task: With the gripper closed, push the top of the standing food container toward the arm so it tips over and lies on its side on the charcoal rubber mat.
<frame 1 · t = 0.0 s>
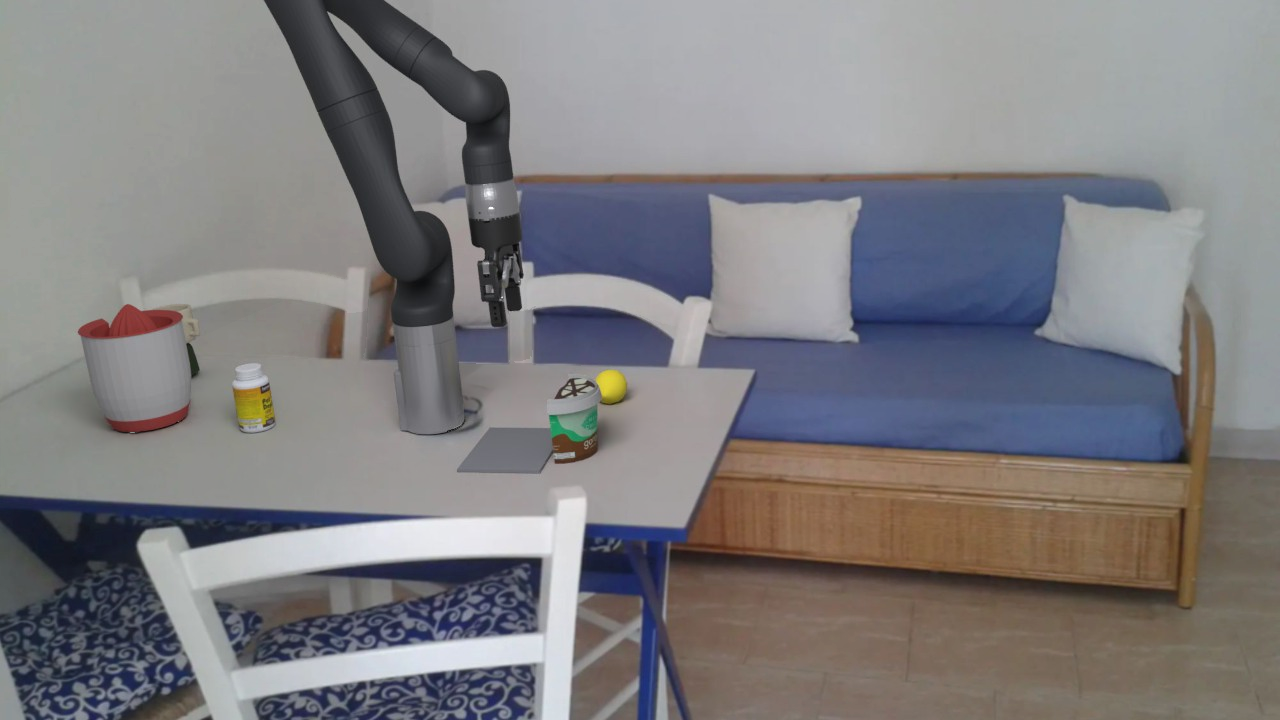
hand: (507, 318, 171), 17 cm above the table, tool pointing down, fingers open, 8 cm apart
character mug: (182, 377, 210), on the table
food container: (583, 452, 164), on the table
charcoal mat: (513, 450, 166), on the table
lemon: (611, 402, 184), on the table
citrus juicer: (149, 421, 188), on the table
supplement bottle: (258, 428, 182), on the table
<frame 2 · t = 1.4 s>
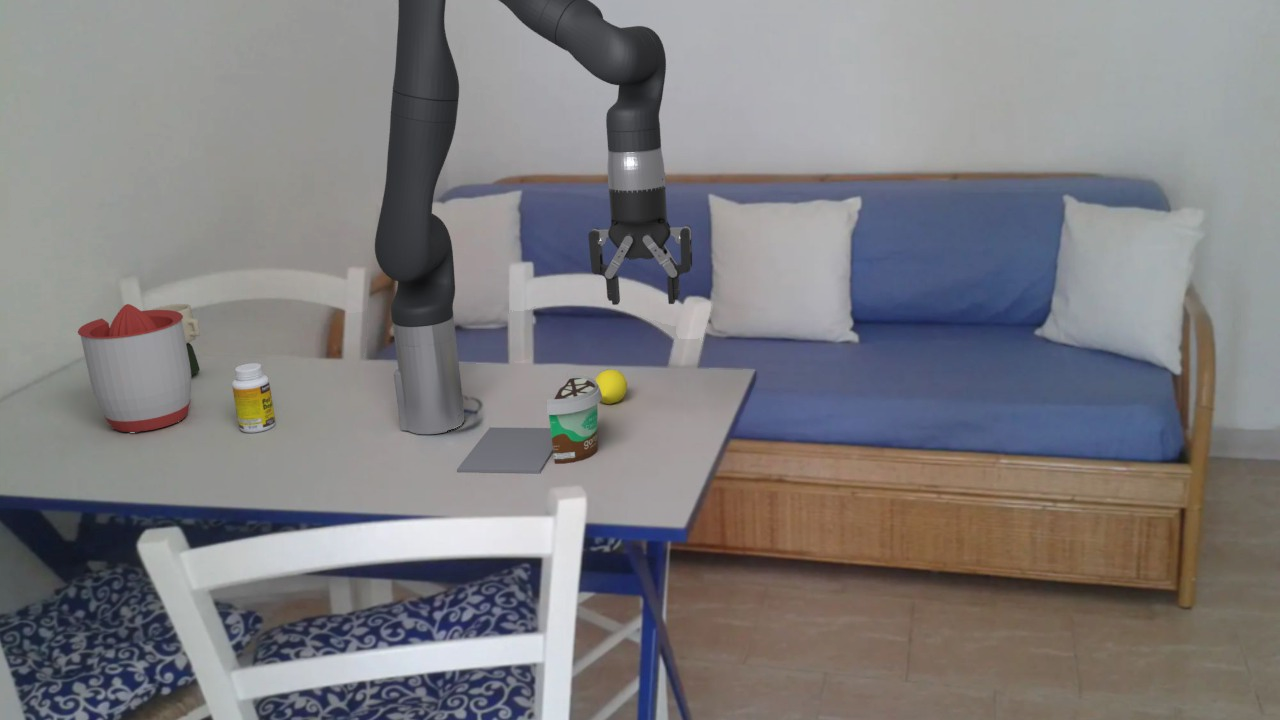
hand: (644, 302, 156), 22 cm above the table, tool pointing down, fingers open, 7 cm apart
nothing on the table moved.
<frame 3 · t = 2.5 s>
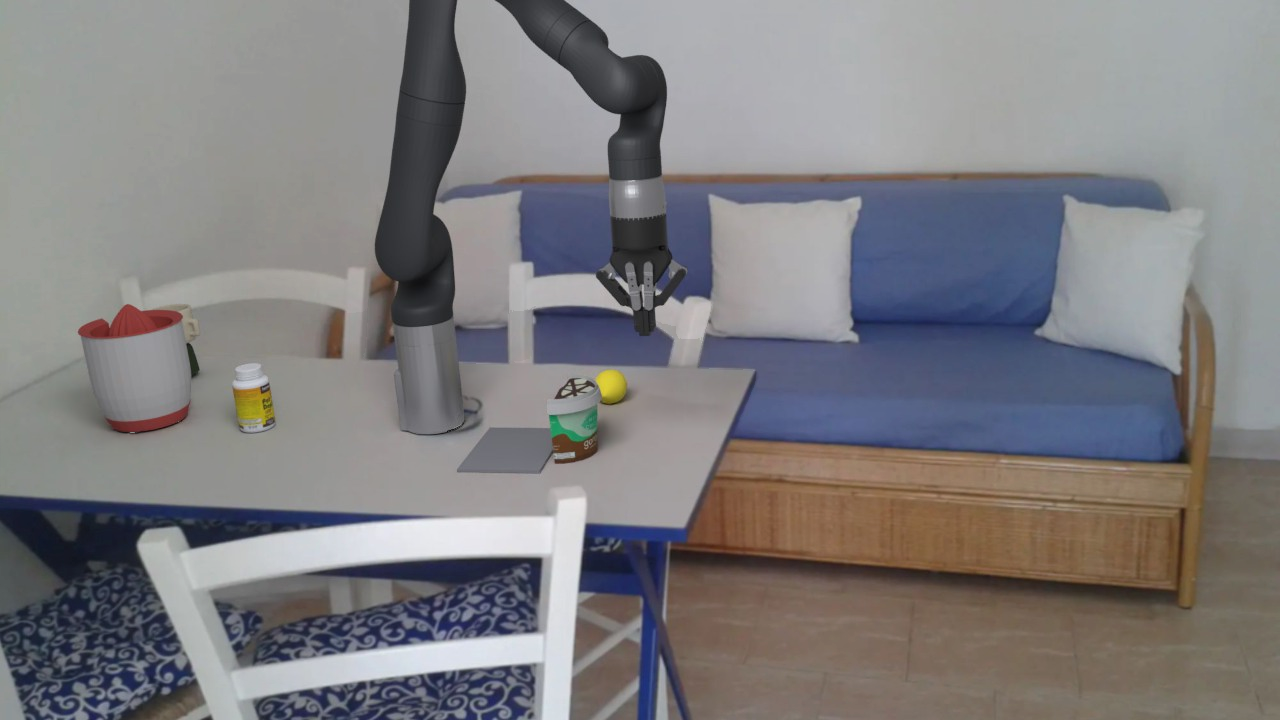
hand: (645, 334, 157), 18 cm above the table, tool pointing down, fingers closed
nothing on the table moved.
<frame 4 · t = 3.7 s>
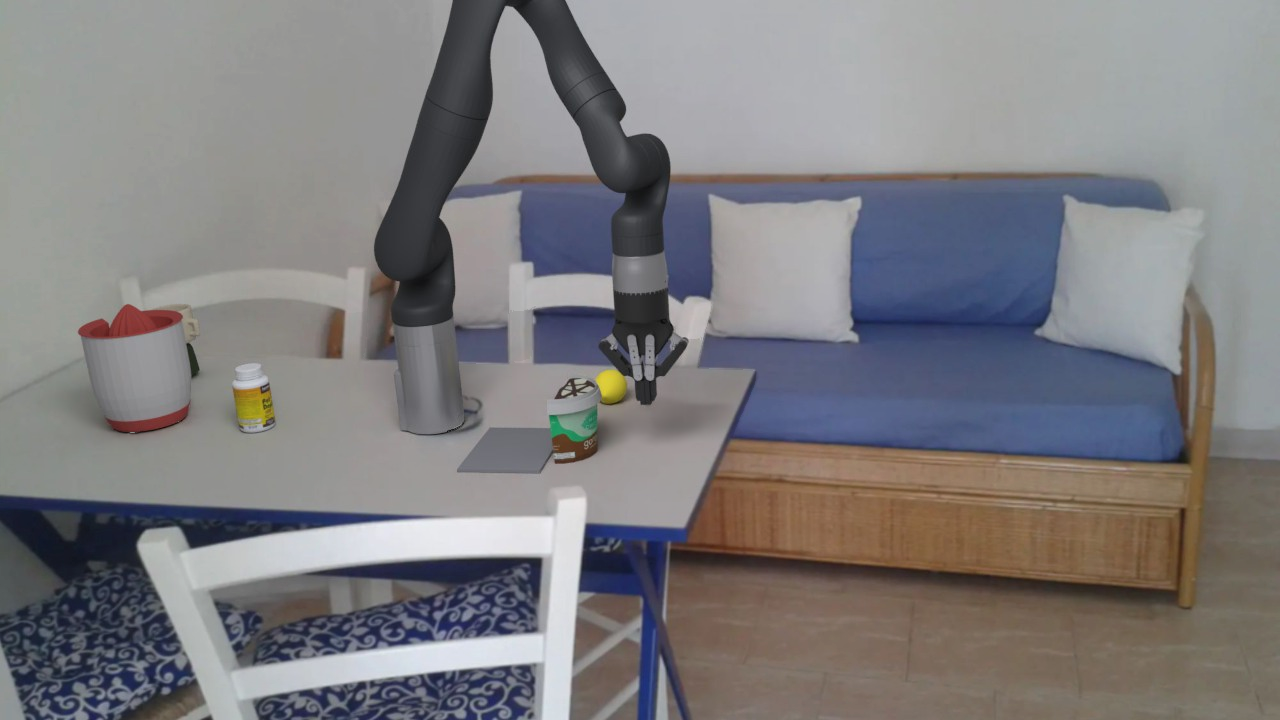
hand: (646, 403, 160), 7 cm above the table, tool pointing down, fingers closed
nothing on the table moved.
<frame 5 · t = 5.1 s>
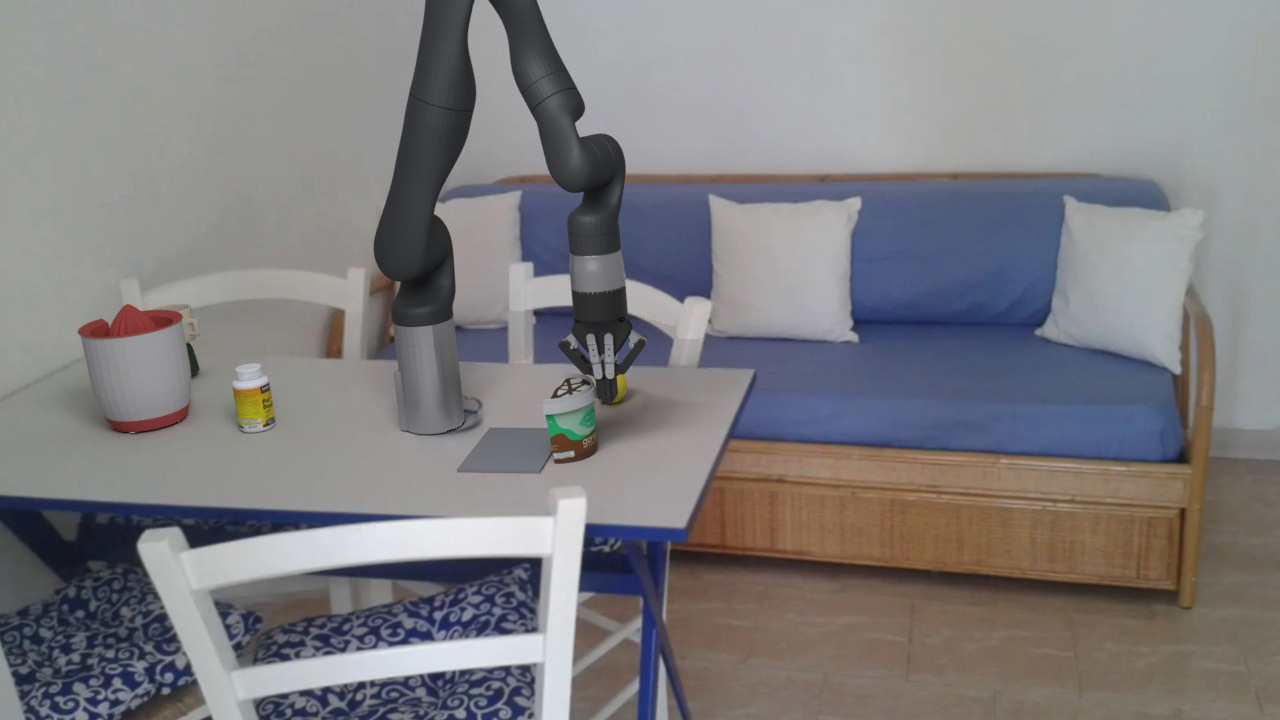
hand: (608, 401, 161), 8 cm above the table, tool pointing down, fingers closed
food container: (583, 451, 164), on the table, touching gripper
everything else where it was.
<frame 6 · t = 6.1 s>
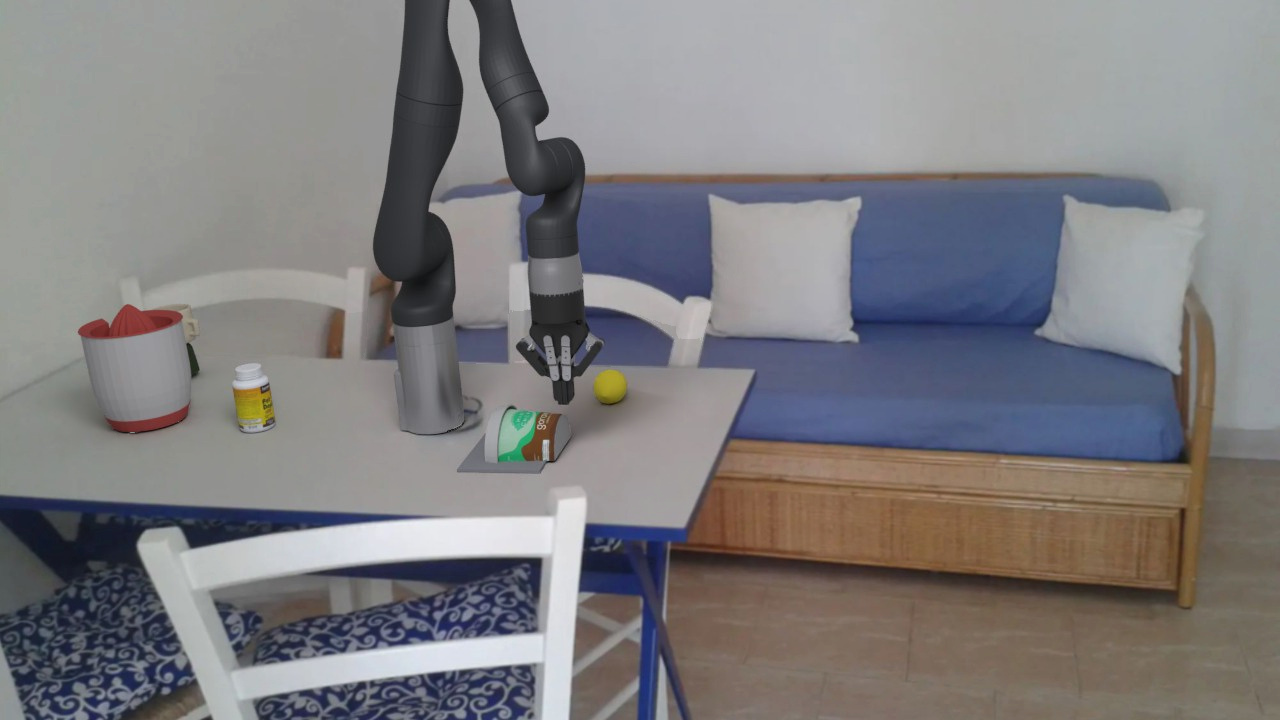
hand: (564, 402, 163), 7 cm above the table, tool pointing down, fingers closed
food container: (562, 428, 164), point 3 cm above the table, touching charcoal mat
everything else where it was.
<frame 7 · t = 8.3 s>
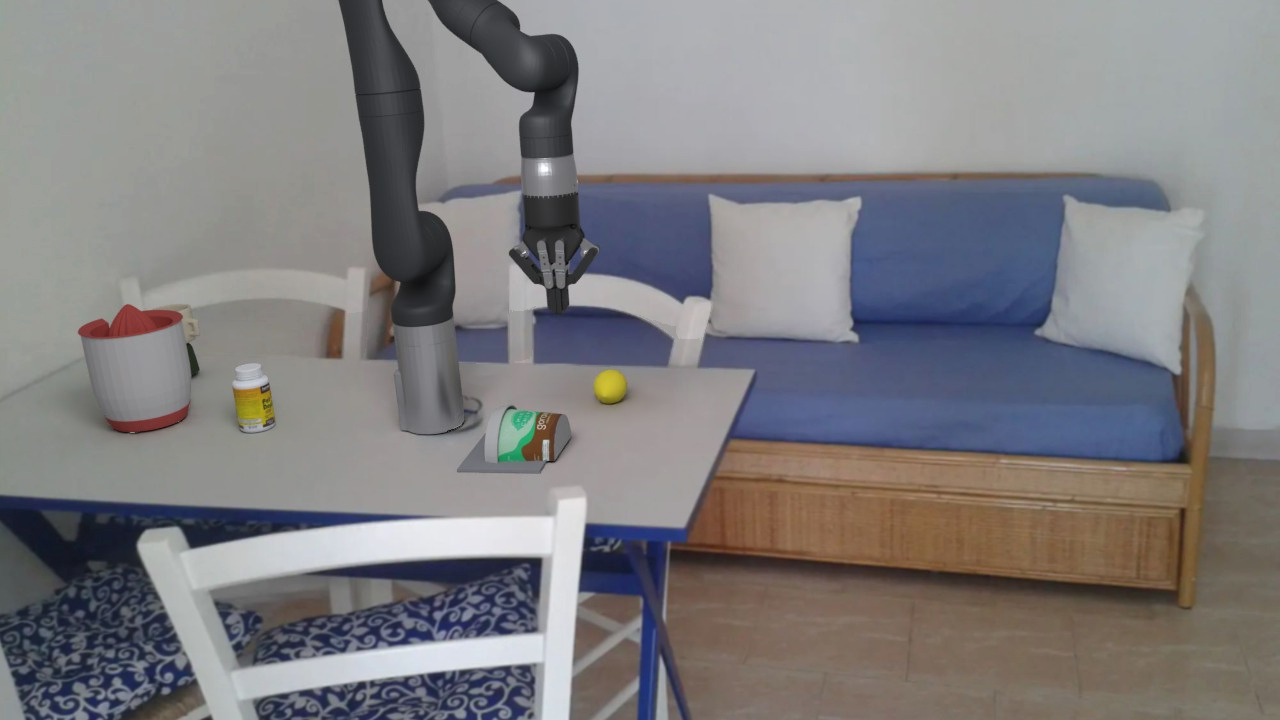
hand: (559, 312, 158), 21 cm above the table, tool pointing down, fingers closed
nothing on the table moved.
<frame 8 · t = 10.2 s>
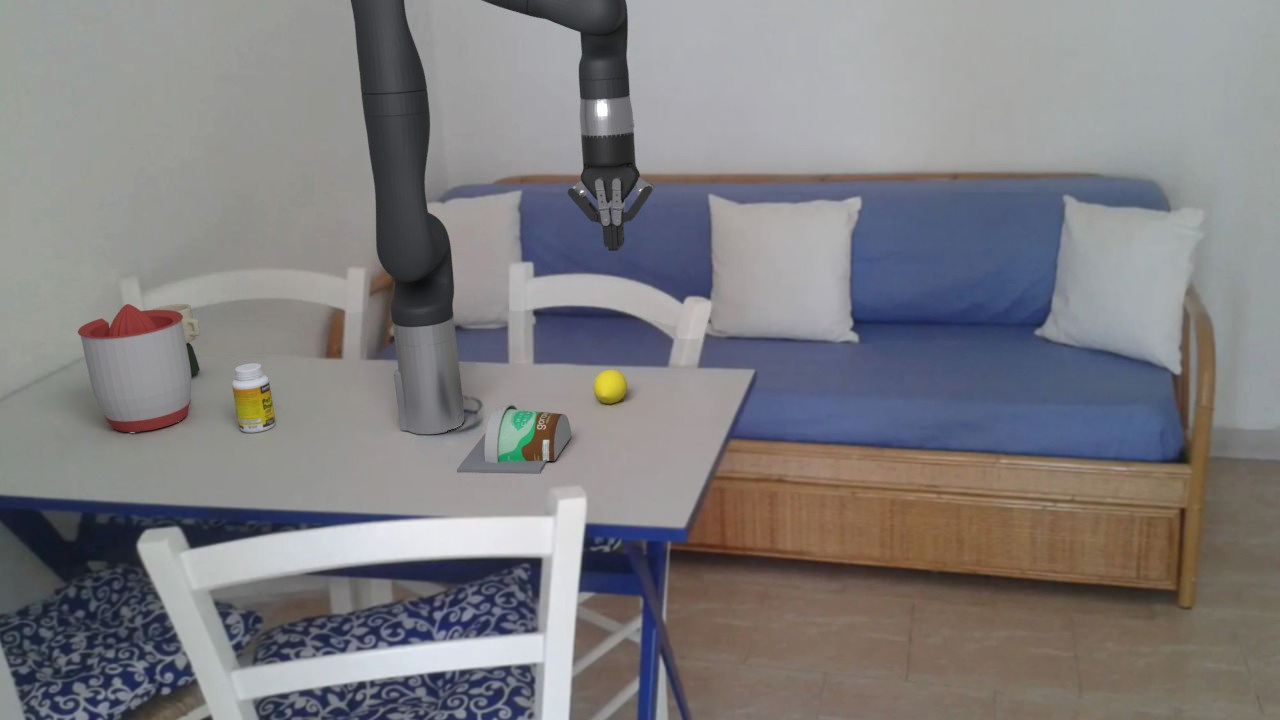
hand: (614, 249, 167), 27 cm above the table, tool pointing down, fingers closed
nothing on the table moved.
at the end: food container tilted 90°; food container touching charcoal mat; food container inside the target area (0.4 cm from its centre), point 3.5 cm above the table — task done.
